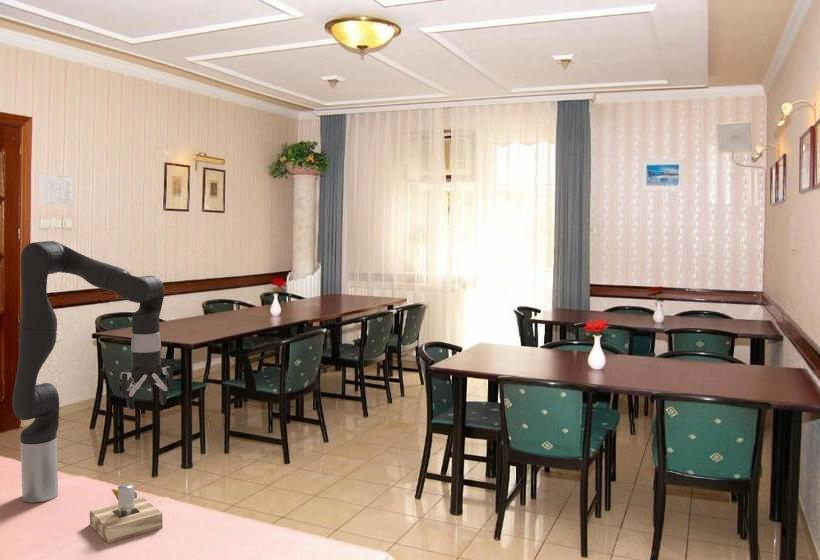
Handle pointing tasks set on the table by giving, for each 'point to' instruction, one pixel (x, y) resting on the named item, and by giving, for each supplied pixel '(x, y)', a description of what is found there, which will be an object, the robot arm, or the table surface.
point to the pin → (126, 500)
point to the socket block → (125, 521)
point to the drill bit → (117, 493)
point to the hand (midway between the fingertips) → (147, 406)
